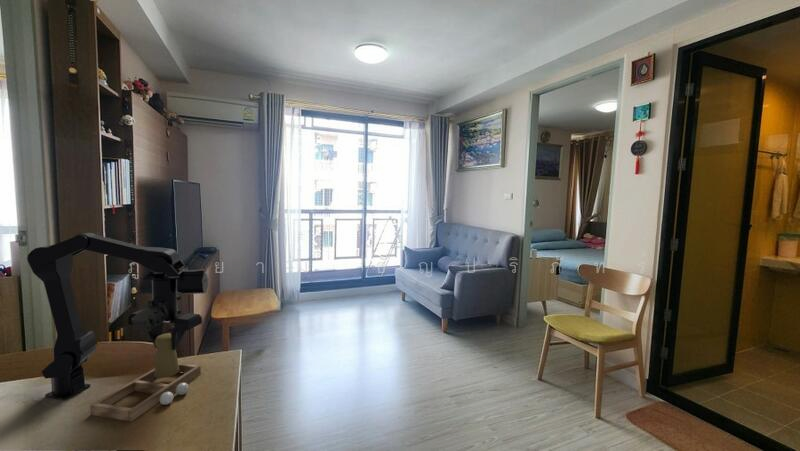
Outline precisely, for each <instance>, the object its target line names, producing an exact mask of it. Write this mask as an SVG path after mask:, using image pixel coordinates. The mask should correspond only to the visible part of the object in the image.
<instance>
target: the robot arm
mask: <svg viewBox="0 0 800 451" xmlns="http://www.w3.org/2000/svg"><path fill="white" fill-rule="evenodd" d="M85 251H89V252H93V253H97V254H102V255H105V256H106V255H107V256H110V257H113V258H117V259H121V260H127V261H130V262H131V261H132V262H134V263H136V264H138V265H139V266H141V267H143V268H144V269H147V270H149V271H148V273H147V274H146V275H144V276H143V277H142V280H143V281H151V294H152V296H151V298H152V299H151V298H150V299H149V300H148V302H147V307H146V308H142V309H139V310H136V311H134V312H132V313H130V314H129V317H127V318H128V319H127V322H128V325H133V327H134V329H135V330H137V331H138V330H142V331H145V332H147V334H148V335H149V338H150V339H151V341H152V344H153V345H154V348H155V349H157V347H156V346H155V339H156V338H157V337H158V336H159V335H162V334H164V333H163V332H164V324H165V323H168V324H173V325H172V327H171V328H168V329H167V332H168V333H171V339H172V349H173V350H176V351H177V349H178V348H179V345H180V343H181V341H182V339H183V338H184V335H185V333H186V331H190V330H192V329H194V328H195V327H198V326H200V325H201V324H203V317H202V315H201V314H199V313H191V312H188V313H185V314H183V315H181V314H182V310H181V309H178V301H180V300H182V296H181V295H178V293H180V294H182V295H194V294H195V295H197V294H198V295H199V294H201V295H202V294H206V293H207V291H208V287H209V278H208V274H207V273H206V271H207V270H206V269H205V268H200V269H189V268H188V267H187V265H185V264H184V262H182V260H181V259H180V256H179V254H178V251H176V250H175V249H173V248H169V247H168V248H167V247H157V246H143V245H142V246H141V245H138V244H133V243H129V242H127V241H122V240H118V239H115V238H114V239H113V238H110V237H105V236H103V235H98V234H96V233H93V232H85V233H84V232H83V233H79V234H76V235H74V236H73V237H71V238H68V239H66V240H64V241H63V240H62V241H61V242H58V243H54V244H49V245H44V246H38V247H35V248H33V249H32V250H31V251H30V252H29V253H28V254H27V256H26V260H27V263H28V266H29V267H30V270H31V272H32V273H33V274H34V275H35V276H36V277H37V278H38V279H39V280H40V281H41V282H42V283H43V285H44V289H45V293H46V297H47V300H48V304H49V309H50V312H51V316H52V320H53V324H54V328H55V332H56V339H55V342H54V346H53V348H52V351H53V361H52V362H50V363H49V364H48V365H47V366H46V367H45V368H43V369H42V370H41V374H42V375H43V377H44V379H50V380H51V391H49V392H48V393H45V395H44V396H45V397H46V398H53V399H56V400H57V399H58V400H67V399H69V398H71V397H73V396H75V395H77V394H79V393H81V392H82V391H84V390H86V389H88V388H90V387H91V384H90V383H85V373H84V372H85V371H84V367H83V364H85V363H86V362H88V360H89V358H90V356H92V354H93V353H94V352H95V351H96V346H97V345H98V342H97V340H96V337H95V335H96V334H95V331H94V330H91V331H87V330H86V329H85V328H84V327H83V326H82V322H81V318H80V314H79V310H78V306H77V302H76V298H75V294H74V289H73V287H72V282H71V277H70V276H71V272H72V269H73V266H74V256H76V255H78V254H81V253H82V252H85ZM179 315H181V316H179Z"/></svg>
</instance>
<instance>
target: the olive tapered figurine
mask: <svg viewBox="0 0 800 451" xmlns="http://www.w3.org/2000/svg"><path fill="white" fill-rule="evenodd" d="M155 346H156V347H157V348H156V354H155V355H156V356H155V364H154V368H155V370H154V377H156V378H155V379H164V378H169V377H171V376H174V375H176V374H179V373H178V372H179V365H178V363H179V360H178V354H177V349H176V350H173V349H172V339H171V333H170V332H168V333H162V335H159V336H158V337H157V338H156V339H155ZM155 346H154V347H155Z"/></svg>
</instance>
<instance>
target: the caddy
mask: <svg viewBox="0 0 800 451" xmlns="http://www.w3.org/2000/svg"><path fill="white" fill-rule="evenodd" d="M178 365H179V372H183V373H185V374H183V373H182V375H180V376H178V378H176V379H175V380H173V381H171V382H170V383H168V384H166V383H161V382H153V379H154V380H155V379H157V378H156V377H154V370H155V367H154V368H152V369H151V370H149V371H148V372H146V373H144V374H142V375H140V376H139V377H136V378H135V379H134V380H132V381H130V382H128V383H126V384H125V385H123V386H121V387H120V388H118V389H116V390H114V391H112V392H111V393H109V394H106V395H105V396H104V397H102V398H100V399H98V400H96V401H95V402H93V403H91V404H90V415H91V416H95V417H102V418H107V419H108V418H109V419H114V420H119V421H128V422H133V421H135V420H136V419H137V418H139V417H140V416H142V415H143V414H145V413H146V412H147V411H149V410H151V409H152V408H154V407H156V405H158V404H159V403H160V400H159V399H160V396H161V395H162V394H163V393H165V392H171V393H173V394H174V393H176V387H177V386H178V385H179V384H180V383H187V384H188V383H190V382H191V381H193V380H194V379H196V378H197V377H198V376H200V375H201V374H202V370H201V369H202V368H201V367H202V366H201V365H198V364H190V363H189V364H188V363H181V362H178ZM134 392H140V393H147V394H151V395H150V396H149V397H147V398H145V399H144V400H142V401H140V402H139V403H138V404H136V405H134V406H133V407H127V406H125V407H124V406H118V405H114V404H116V403H118V402H119V401H121V400H122V399H124V398H126V397H127V396H129V395H131V394H132V393H134Z"/></svg>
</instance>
